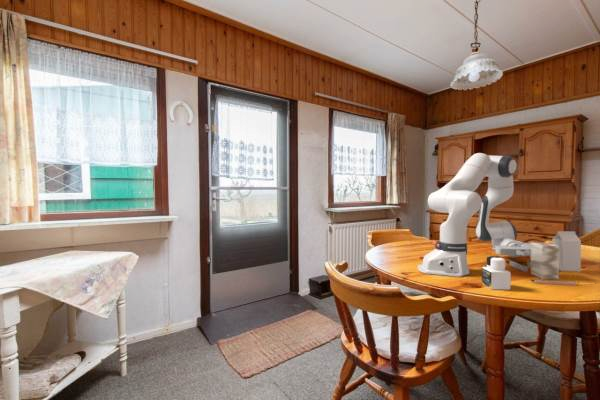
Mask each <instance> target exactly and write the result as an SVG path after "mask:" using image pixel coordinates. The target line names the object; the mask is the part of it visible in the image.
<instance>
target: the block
mask: <svg viewBox="0 0 600 400" xmlns="http://www.w3.org/2000/svg"><path fill="white" fill-rule="evenodd" d="M530 243H531V256H530V262H531V267H530V274H531V275H534V276H535V277H537V278H540V279H541V280H560V277H559V276H560V273H559V272H560V270H559V246H556V245H553V244H552V243H548V242H530Z"/></svg>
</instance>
